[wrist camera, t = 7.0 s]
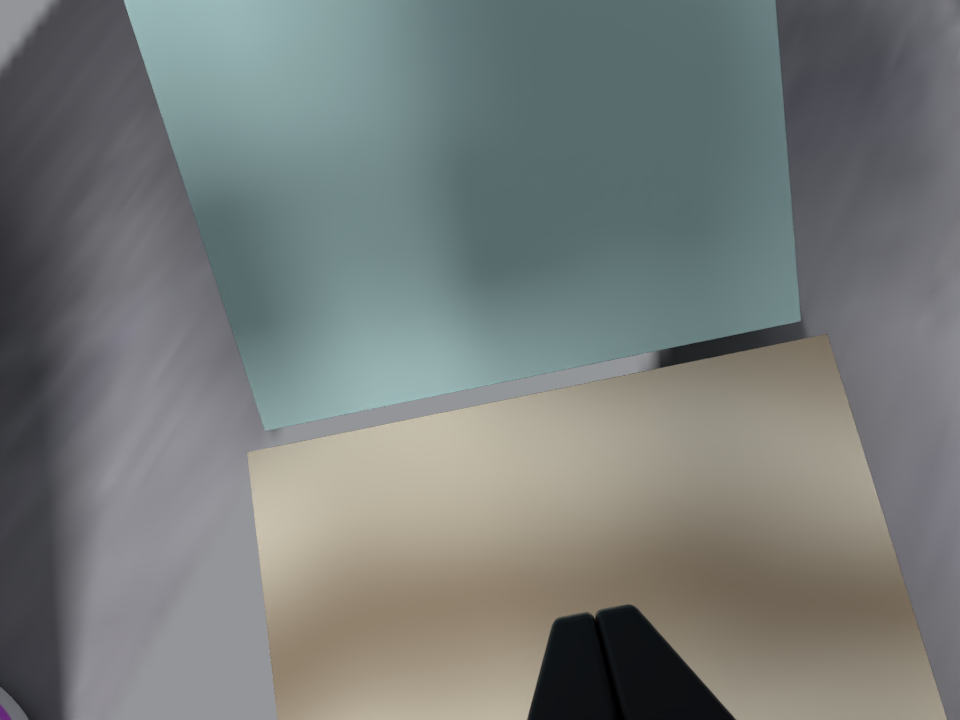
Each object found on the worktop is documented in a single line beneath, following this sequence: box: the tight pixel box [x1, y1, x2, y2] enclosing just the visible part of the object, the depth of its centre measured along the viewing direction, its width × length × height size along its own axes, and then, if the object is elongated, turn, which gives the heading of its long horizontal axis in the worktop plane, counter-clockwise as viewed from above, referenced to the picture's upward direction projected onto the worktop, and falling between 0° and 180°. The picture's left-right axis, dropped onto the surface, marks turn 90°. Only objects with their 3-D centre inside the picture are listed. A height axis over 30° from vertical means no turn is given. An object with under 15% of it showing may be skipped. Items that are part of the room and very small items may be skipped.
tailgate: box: [124, 0, 801, 431], centre depth 18 cm, size 2×12×10 cm
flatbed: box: [247, 334, 947, 720], centre depth 18 cm, size 10×13×2 cm
